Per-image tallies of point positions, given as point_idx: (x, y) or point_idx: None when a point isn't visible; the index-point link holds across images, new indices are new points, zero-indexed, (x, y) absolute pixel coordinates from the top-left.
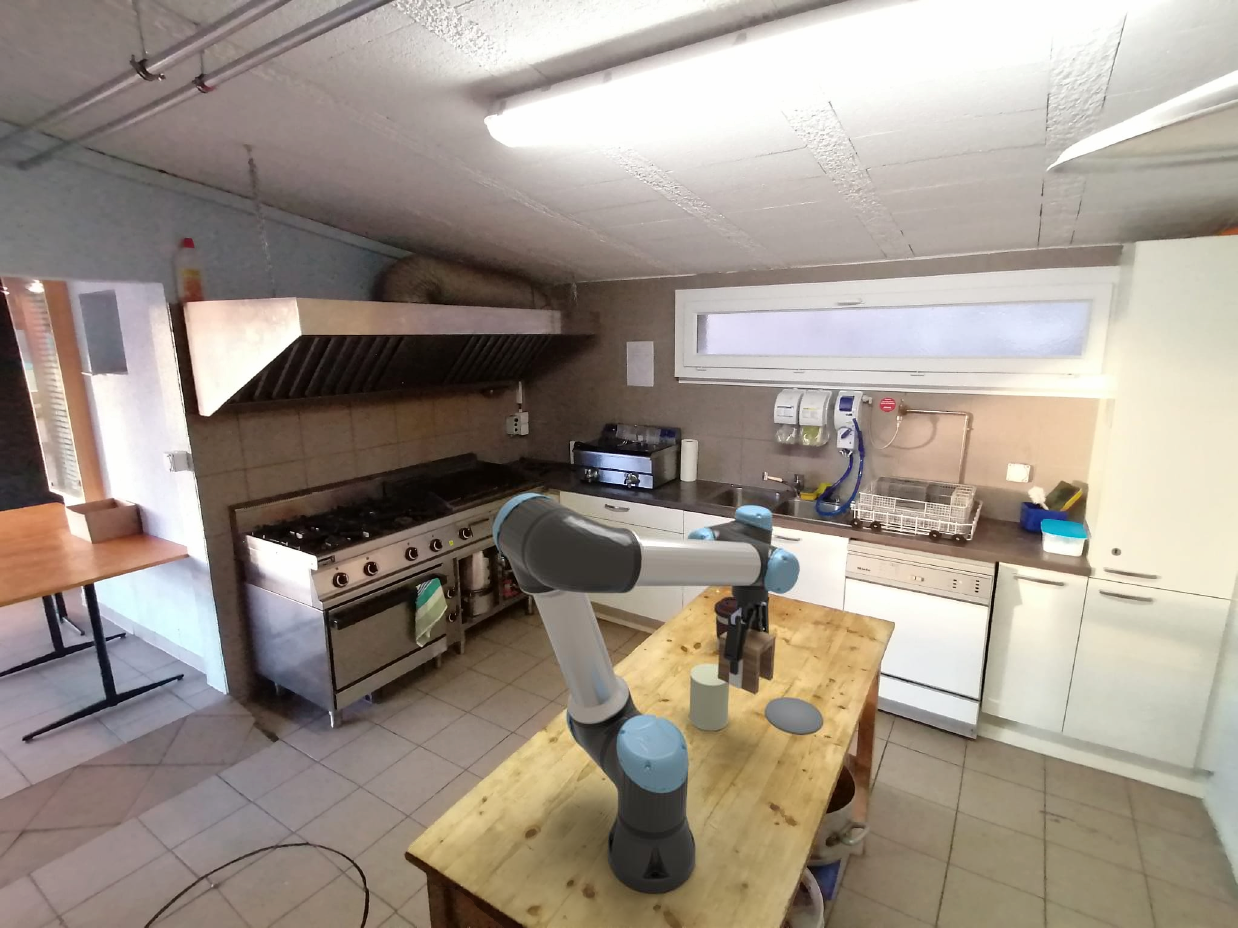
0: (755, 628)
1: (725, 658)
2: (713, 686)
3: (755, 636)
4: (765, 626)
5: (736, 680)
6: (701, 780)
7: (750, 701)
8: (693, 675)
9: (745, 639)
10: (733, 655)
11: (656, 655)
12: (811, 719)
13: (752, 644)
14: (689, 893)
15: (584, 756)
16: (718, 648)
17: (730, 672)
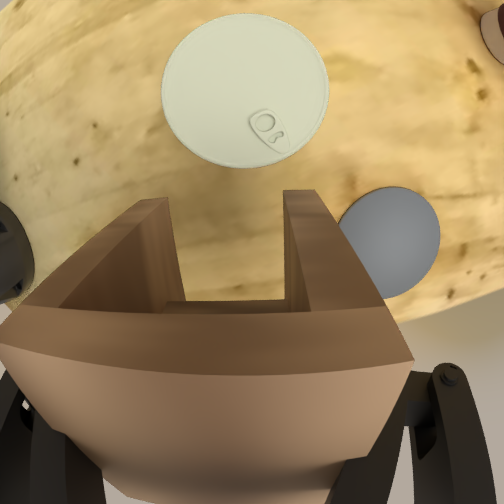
0: (329, 495)
1: None
2: (186, 146)
3: (241, 494)
4: (413, 476)
5: None
6: (96, 215)
7: (382, 146)
8: (186, 50)
9: (103, 496)
10: (28, 418)
11: None
12: (391, 280)
13: (145, 489)
14: (16, 299)
15: (16, 56)
16: (484, 14)
17: None
